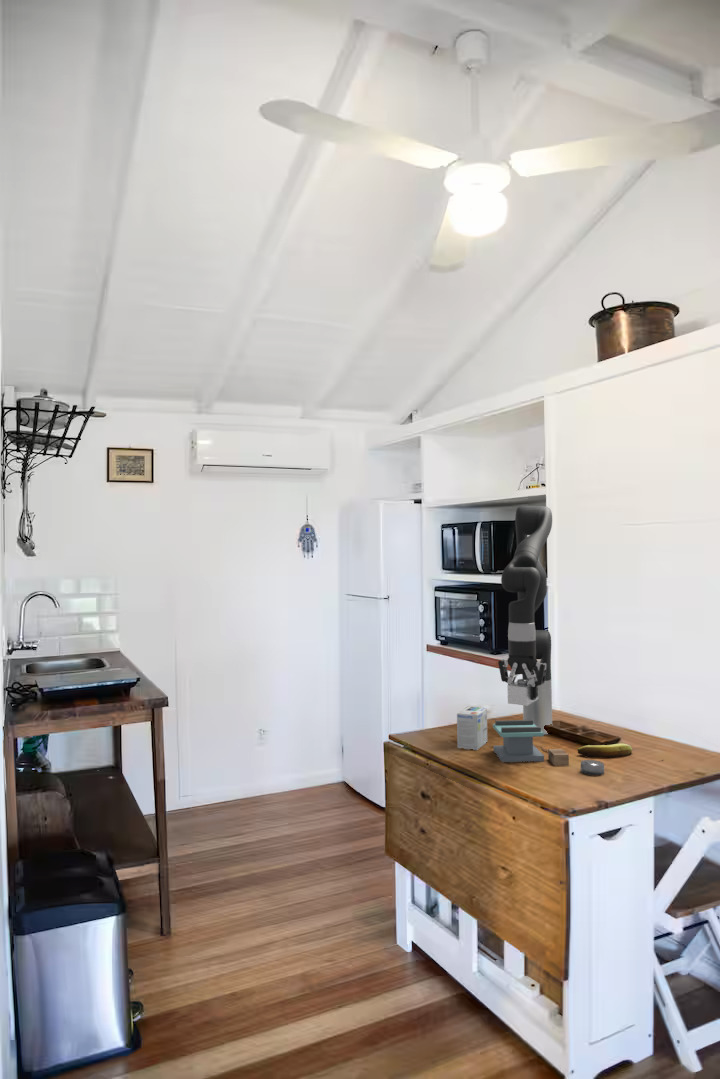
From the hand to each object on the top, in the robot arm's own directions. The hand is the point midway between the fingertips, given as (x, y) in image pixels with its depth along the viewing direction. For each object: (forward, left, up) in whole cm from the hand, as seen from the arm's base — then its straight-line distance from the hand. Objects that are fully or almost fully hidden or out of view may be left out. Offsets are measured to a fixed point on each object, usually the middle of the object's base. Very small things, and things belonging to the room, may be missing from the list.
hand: (523, 698), depth 206 cm
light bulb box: (-20, -11, -18) cm, 30 cm away
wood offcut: (0, +10, -18) cm, 21 cm away
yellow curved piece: (-7, +26, -19) cm, 33 cm away
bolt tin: (+10, +16, -18) cm, 26 cm away
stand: (-7, 0, -18) cm, 19 cm away
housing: (0, 0, -1) cm, 1 cm away
